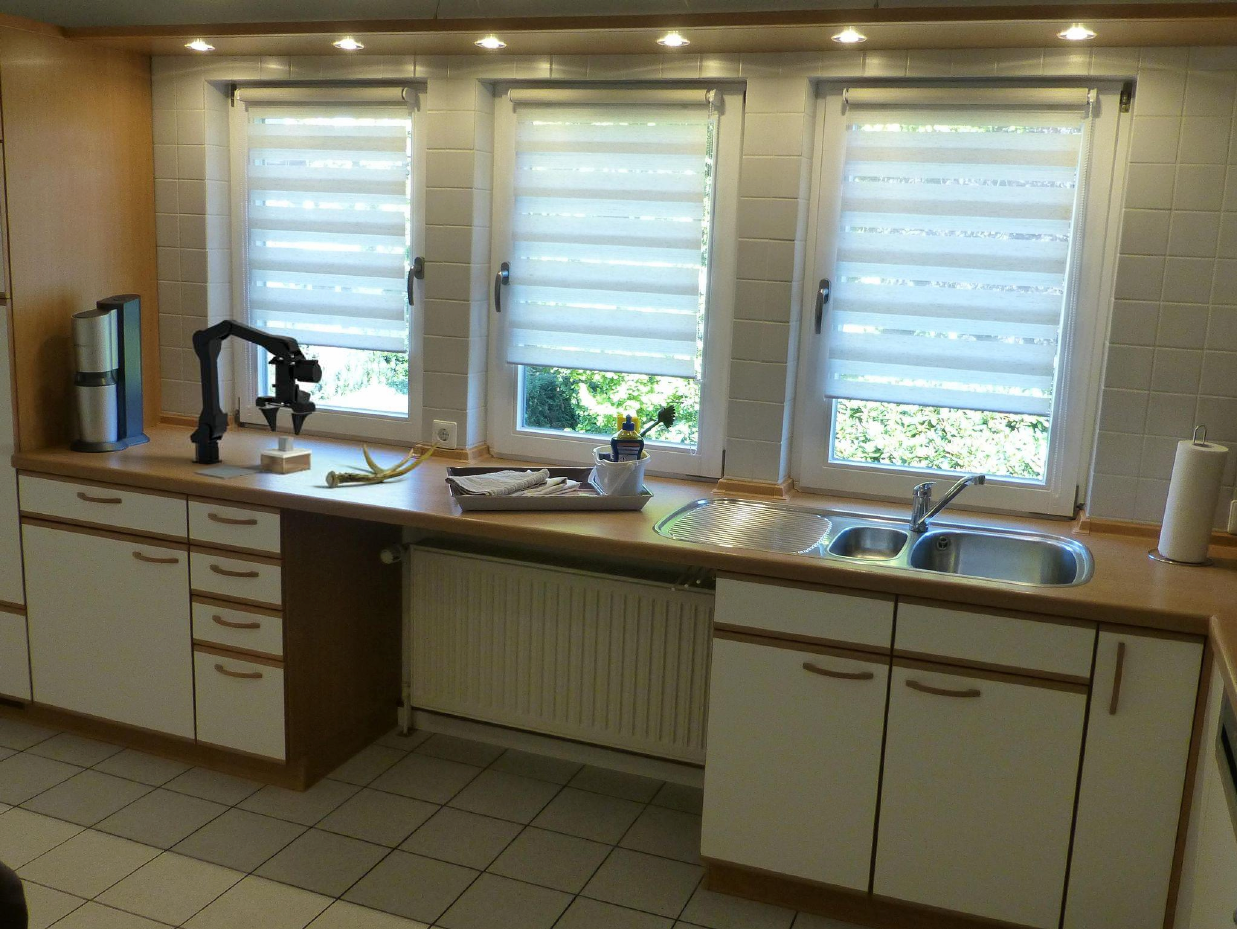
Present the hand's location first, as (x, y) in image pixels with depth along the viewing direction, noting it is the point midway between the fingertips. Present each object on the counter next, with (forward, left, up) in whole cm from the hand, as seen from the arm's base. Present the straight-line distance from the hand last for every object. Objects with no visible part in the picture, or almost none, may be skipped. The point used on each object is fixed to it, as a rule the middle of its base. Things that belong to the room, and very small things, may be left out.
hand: (285, 433), depth 320 cm
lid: (0, 0, -6) cm, 6 cm away
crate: (0, 0, -11) cm, 11 cm away
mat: (-9, -14, -11) cm, 20 cm away
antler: (+31, +9, -11) cm, 34 cm away
